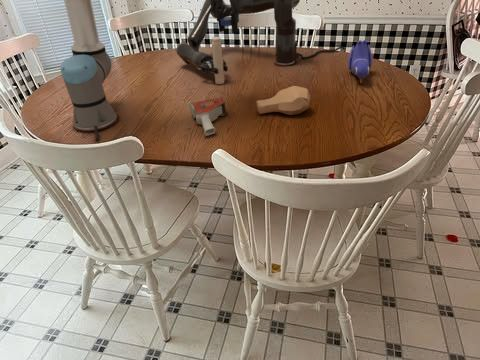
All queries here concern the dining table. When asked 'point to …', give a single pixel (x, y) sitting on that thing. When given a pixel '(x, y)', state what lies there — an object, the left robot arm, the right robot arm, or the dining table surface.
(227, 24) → the lid
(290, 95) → the squash
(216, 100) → the tape dispenser
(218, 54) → the cream plastic cylinder
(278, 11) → the right robot arm
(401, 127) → the dining table surface
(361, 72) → the toy
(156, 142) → the dining table surface
